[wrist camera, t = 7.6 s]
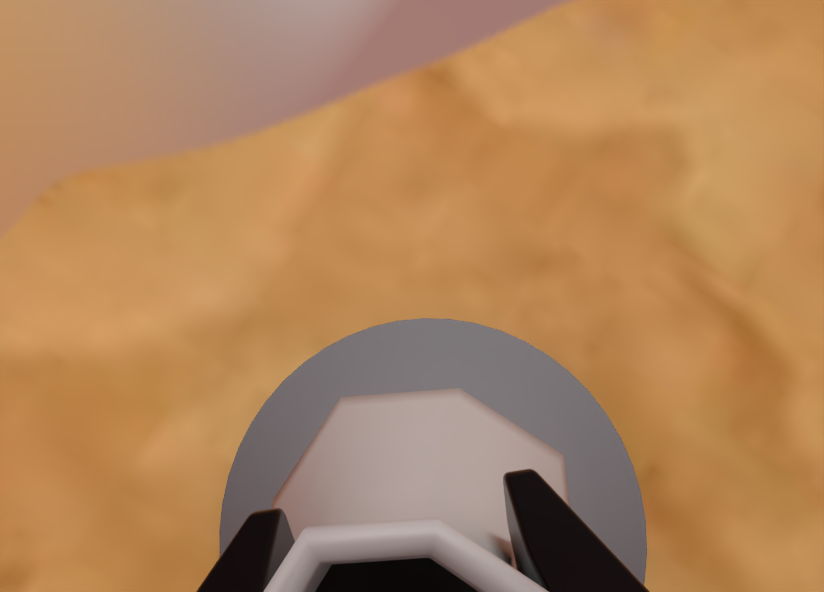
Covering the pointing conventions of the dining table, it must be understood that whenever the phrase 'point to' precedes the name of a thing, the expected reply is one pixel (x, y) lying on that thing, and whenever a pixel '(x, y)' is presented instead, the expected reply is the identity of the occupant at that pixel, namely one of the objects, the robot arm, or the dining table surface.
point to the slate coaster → (434, 370)
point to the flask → (409, 497)
